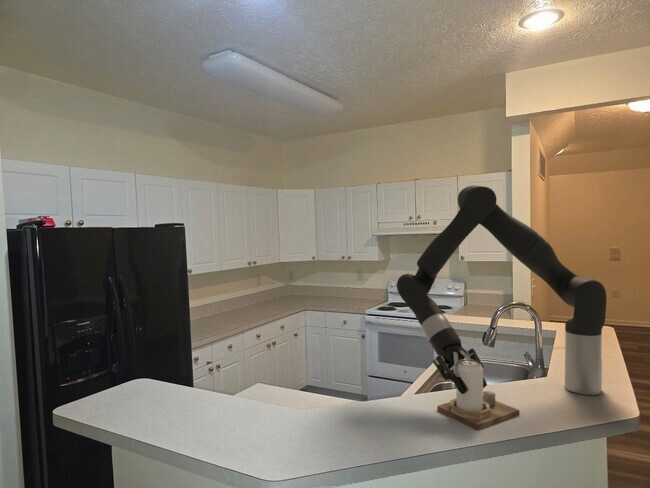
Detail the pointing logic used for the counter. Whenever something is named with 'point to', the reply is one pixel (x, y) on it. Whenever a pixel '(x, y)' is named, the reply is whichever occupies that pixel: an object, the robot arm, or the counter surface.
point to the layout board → (480, 412)
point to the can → (470, 385)
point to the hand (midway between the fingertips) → (474, 389)
